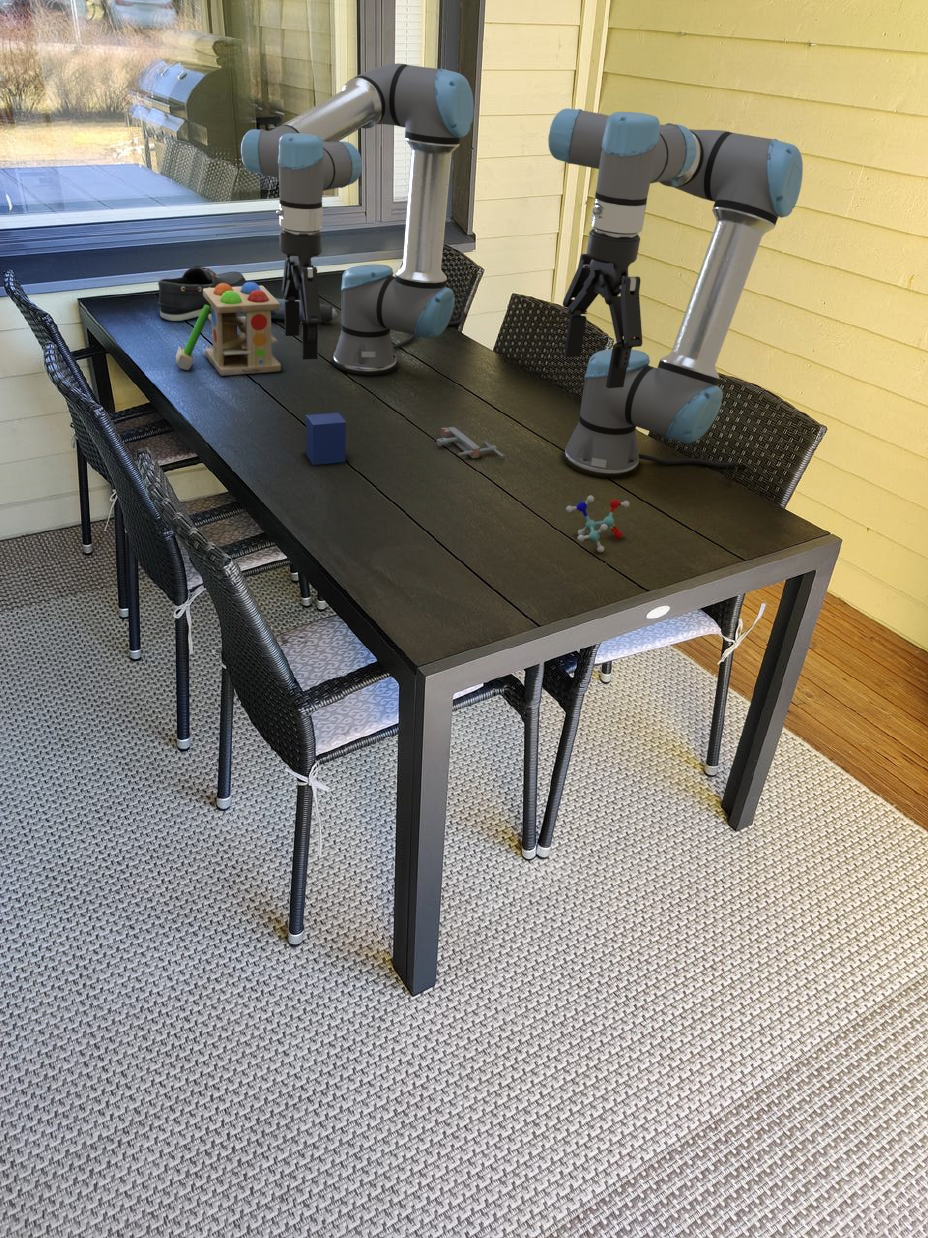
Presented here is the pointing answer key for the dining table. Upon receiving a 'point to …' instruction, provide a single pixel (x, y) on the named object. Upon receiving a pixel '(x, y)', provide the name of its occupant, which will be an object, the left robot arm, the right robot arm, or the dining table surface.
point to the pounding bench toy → (229, 347)
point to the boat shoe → (191, 292)
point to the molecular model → (591, 523)
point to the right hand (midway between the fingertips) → (592, 371)
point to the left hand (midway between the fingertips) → (300, 346)
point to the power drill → (325, 310)
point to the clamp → (464, 443)
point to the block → (325, 438)
